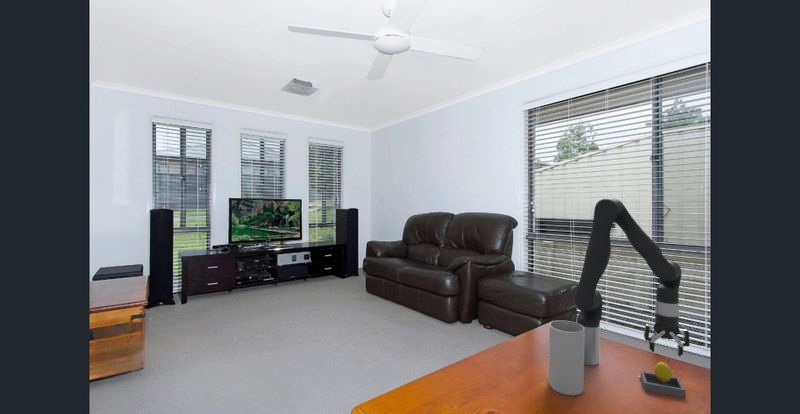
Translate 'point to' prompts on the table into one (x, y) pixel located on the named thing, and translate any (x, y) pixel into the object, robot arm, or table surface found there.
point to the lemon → (663, 372)
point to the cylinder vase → (566, 357)
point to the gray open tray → (662, 385)
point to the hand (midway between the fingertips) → (665, 353)
